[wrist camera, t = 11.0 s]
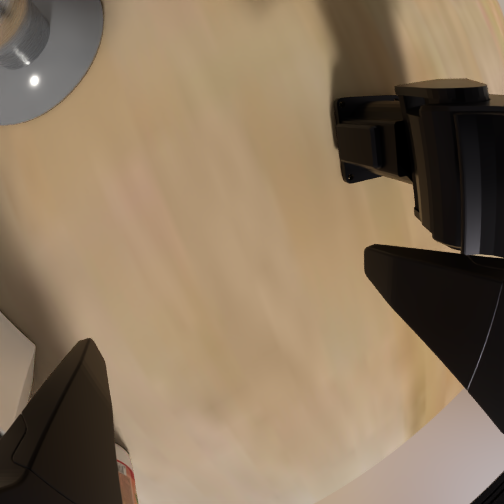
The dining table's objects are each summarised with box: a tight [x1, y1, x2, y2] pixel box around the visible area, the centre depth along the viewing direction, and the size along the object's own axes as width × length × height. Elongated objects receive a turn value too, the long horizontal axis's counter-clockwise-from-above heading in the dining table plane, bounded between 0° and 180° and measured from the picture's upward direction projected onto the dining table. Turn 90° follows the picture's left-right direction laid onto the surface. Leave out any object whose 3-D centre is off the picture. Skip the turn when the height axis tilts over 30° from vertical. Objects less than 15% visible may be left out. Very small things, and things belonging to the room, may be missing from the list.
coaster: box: [0, 0, 104, 125], centre depth 12 cm, size 11×11×1 cm
